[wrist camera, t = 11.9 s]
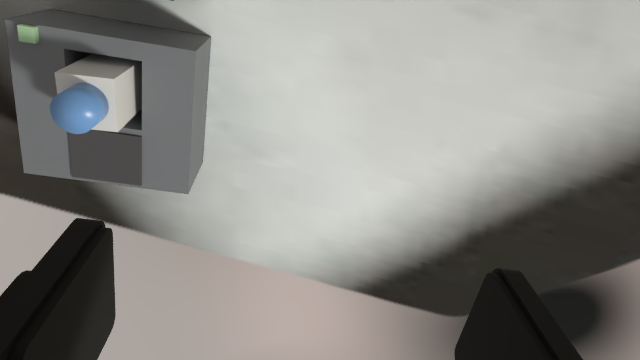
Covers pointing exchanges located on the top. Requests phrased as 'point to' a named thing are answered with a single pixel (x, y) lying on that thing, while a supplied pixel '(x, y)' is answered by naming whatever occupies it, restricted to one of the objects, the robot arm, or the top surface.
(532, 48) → the top surface
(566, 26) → the top surface
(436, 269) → the top surface
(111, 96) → the plug
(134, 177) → the port
